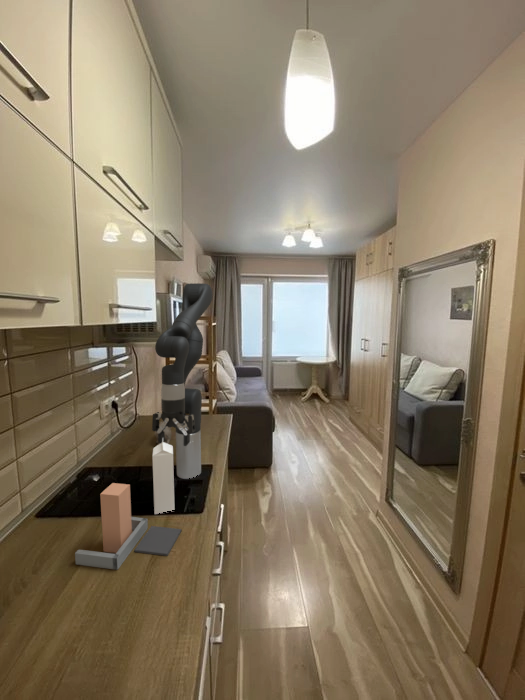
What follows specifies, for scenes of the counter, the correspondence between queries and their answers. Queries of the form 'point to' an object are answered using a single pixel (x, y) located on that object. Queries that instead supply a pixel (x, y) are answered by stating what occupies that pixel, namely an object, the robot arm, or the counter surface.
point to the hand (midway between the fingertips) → (173, 444)
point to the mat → (158, 541)
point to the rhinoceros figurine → (167, 434)
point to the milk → (163, 478)
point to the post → (115, 516)
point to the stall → (117, 559)
